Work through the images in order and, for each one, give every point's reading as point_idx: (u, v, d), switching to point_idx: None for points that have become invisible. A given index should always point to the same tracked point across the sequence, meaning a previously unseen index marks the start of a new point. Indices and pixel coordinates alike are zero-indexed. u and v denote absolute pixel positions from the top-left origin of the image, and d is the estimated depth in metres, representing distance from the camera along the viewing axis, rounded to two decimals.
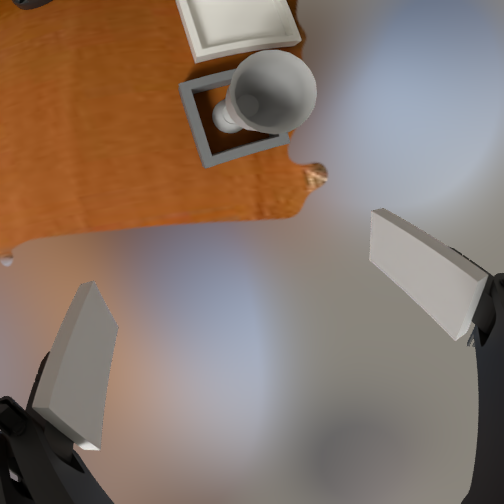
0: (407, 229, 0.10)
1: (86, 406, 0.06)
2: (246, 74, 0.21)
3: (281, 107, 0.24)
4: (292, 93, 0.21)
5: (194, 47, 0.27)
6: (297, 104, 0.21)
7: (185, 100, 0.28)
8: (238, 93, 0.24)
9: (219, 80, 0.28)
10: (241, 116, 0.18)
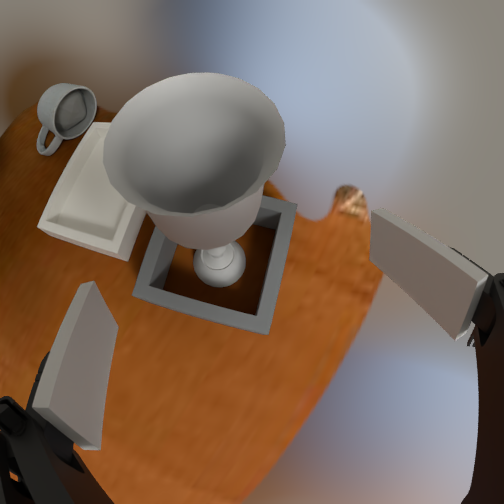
0: (407, 229, 0.10)
1: (86, 406, 0.06)
2: (154, 187, 0.14)
3: (237, 167, 0.15)
4: (222, 132, 0.13)
5: (104, 248, 0.23)
6: (242, 125, 0.12)
7: (158, 302, 0.21)
8: None
9: (160, 244, 0.22)
10: (199, 212, 0.08)
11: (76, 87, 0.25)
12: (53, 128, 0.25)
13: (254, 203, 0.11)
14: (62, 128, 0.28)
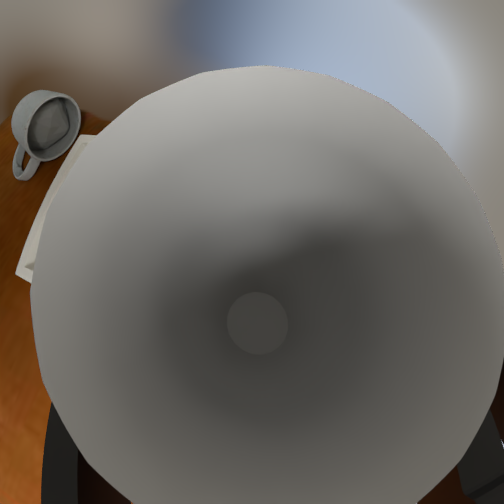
0: None
1: None
2: (171, 299, 0.08)
3: (318, 255, 0.09)
4: (306, 201, 0.07)
5: None
6: (368, 207, 0.05)
7: None
8: (217, 331, 0.10)
9: None
10: None
11: (53, 96, 0.18)
12: (26, 149, 0.19)
13: (389, 383, 0.05)
14: (40, 147, 0.22)
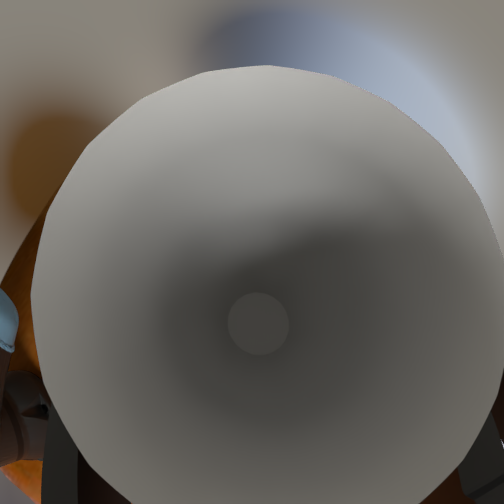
0: None
1: None
2: (171, 300, 0.08)
3: (319, 255, 0.09)
4: (308, 202, 0.07)
5: None
6: (370, 207, 0.05)
7: None
8: (218, 331, 0.10)
9: None
10: None
11: None
12: None
13: (391, 383, 0.05)
14: None
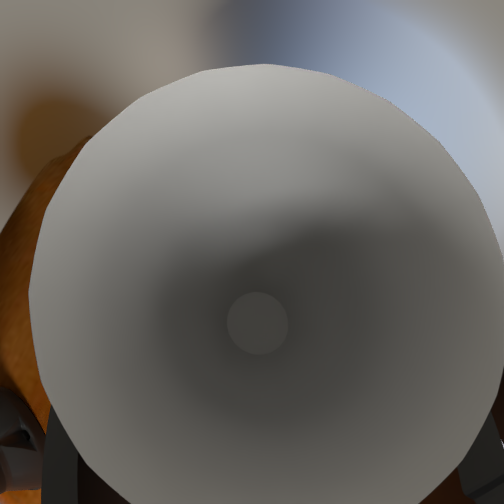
0: None
1: None
2: (170, 299, 0.08)
3: (319, 255, 0.09)
4: (307, 201, 0.07)
5: None
6: (369, 206, 0.05)
7: None
8: (217, 331, 0.10)
9: None
10: None
11: None
12: None
13: (390, 383, 0.05)
14: None
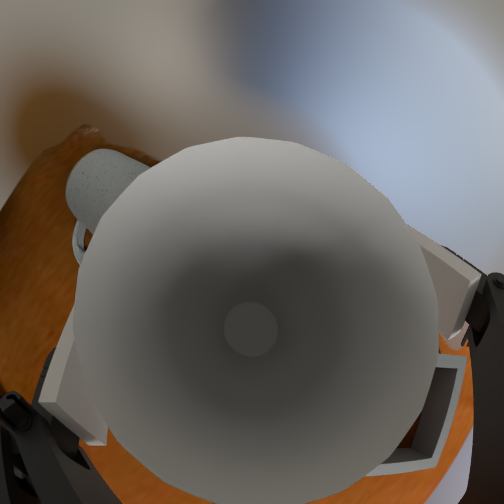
0: None
1: (92, 401, 0.07)
2: (174, 314, 0.09)
3: (299, 274, 0.10)
4: (284, 234, 0.08)
5: None
6: (332, 245, 0.07)
7: None
8: (215, 337, 0.12)
9: None
10: (295, 489, 0.04)
11: None
12: None
13: None
14: None
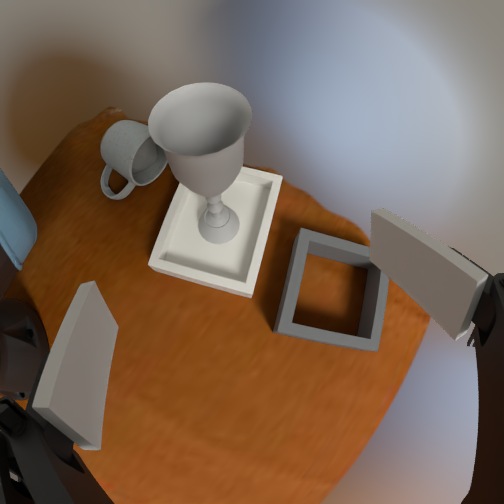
0: (407, 229, 0.10)
1: (86, 406, 0.06)
2: None
3: (229, 143, 0.22)
4: (218, 120, 0.20)
5: (238, 289, 0.29)
6: (230, 114, 0.18)
7: (300, 335, 0.26)
8: None
9: (298, 288, 0.28)
10: (203, 155, 0.15)
11: None
12: (129, 175, 0.30)
13: (236, 158, 0.18)
14: (133, 172, 0.33)
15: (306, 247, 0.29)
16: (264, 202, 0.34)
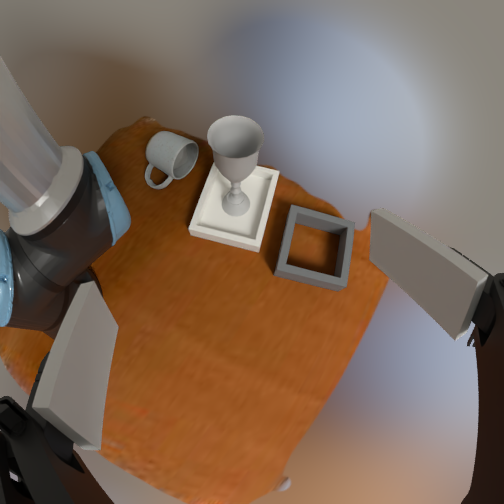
0: (407, 229, 0.10)
1: (86, 406, 0.06)
2: None
3: (248, 150, 0.37)
4: (242, 137, 0.35)
5: (250, 244, 0.44)
6: (250, 134, 0.34)
7: (292, 272, 0.41)
8: None
9: (290, 242, 0.43)
10: (240, 158, 0.30)
11: (188, 142, 0.45)
12: (171, 171, 0.45)
13: (254, 159, 0.33)
14: None
15: (295, 216, 0.44)
16: (266, 189, 0.49)
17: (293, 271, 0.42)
